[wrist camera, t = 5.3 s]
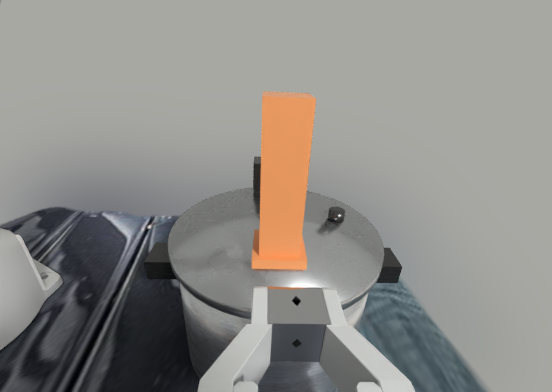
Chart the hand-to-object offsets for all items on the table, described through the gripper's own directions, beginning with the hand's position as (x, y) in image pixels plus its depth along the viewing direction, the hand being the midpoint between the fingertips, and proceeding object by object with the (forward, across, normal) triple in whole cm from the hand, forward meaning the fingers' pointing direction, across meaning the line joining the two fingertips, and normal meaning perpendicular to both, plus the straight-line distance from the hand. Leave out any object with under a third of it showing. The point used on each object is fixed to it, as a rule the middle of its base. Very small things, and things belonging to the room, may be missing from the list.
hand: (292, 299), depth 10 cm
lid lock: (+10, 0, +6) cm, 12 cm away
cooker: (+14, 0, +19) cm, 24 cm away
